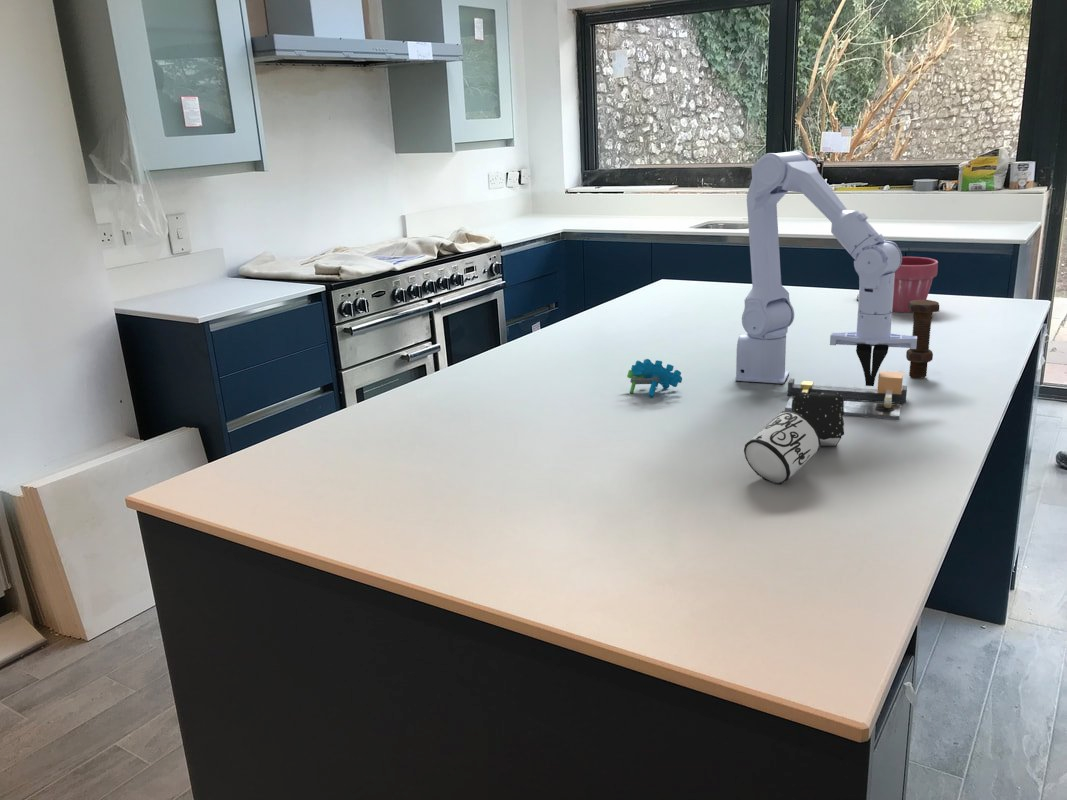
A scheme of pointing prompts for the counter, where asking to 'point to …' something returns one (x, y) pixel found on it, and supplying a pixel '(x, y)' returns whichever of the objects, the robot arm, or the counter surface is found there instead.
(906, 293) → the plant pot
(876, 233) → the robot arm
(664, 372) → the blue stegosaurus toy
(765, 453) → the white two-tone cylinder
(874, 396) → the rail
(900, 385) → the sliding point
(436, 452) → the counter surface
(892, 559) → the counter surface
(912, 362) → the bolt
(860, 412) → the hole plate
